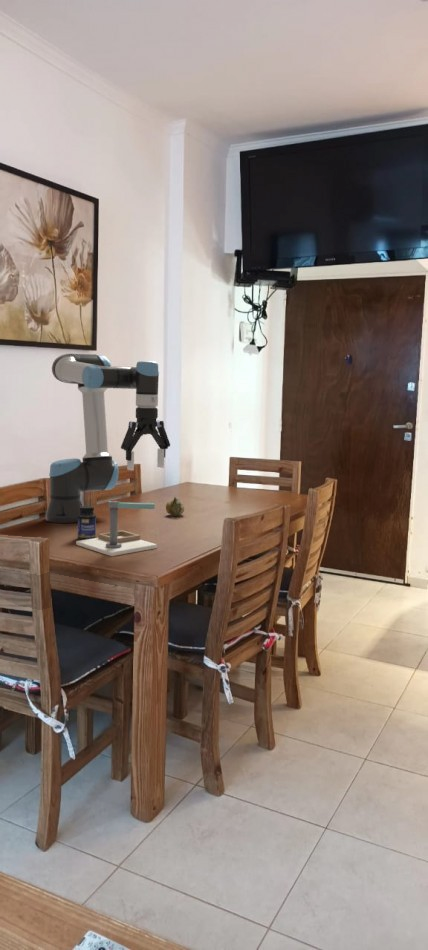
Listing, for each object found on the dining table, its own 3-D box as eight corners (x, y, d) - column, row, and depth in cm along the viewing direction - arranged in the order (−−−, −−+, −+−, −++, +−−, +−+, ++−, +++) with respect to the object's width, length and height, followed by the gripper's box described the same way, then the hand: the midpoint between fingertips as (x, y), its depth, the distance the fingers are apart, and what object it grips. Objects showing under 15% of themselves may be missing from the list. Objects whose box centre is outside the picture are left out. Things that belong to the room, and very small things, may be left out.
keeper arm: (107, 508, 223) (107, 502, 223) (109, 506, 227) (109, 500, 226) (153, 509, 223) (153, 503, 222) (155, 507, 226) (155, 501, 226)
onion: (188, 515, 290) (188, 496, 289) (177, 518, 283) (177, 498, 282) (173, 513, 294) (173, 494, 293) (162, 515, 287) (162, 496, 286)
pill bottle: (80, 540, 239) (80, 508, 237) (75, 537, 244) (75, 505, 243) (98, 539, 242) (98, 507, 240) (92, 535, 247) (92, 504, 246)
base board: (76, 544, 233) (76, 503, 231) (120, 537, 246) (120, 498, 244) (111, 556, 219) (111, 512, 217) (156, 547, 231) (157, 506, 229)
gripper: (125, 408, 230) (124, 472, 233) (181, 407, 247) (179, 467, 250) (110, 406, 235) (110, 470, 238) (166, 406, 253) (165, 464, 256)
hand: (145, 468), depth 244 cm, fingers open, 13 cm apart
